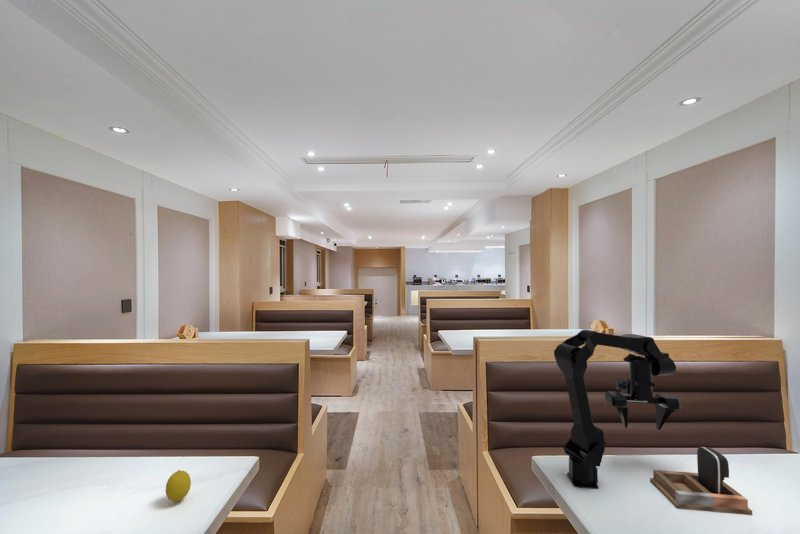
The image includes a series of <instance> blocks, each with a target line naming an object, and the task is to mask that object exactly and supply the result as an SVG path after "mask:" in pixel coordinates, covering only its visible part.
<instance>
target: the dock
mask: <svg viewBox="0 0 800 534" xmlns="http://www.w3.org/2000/svg"><path fill="white" fill-rule="evenodd" d="M652 471H653V473H652V475H653V477H649V481H650V483H651V484H652V485H653V486H654V487H655V488H656V489H657V490H658V491H659V492H660V493H661V494H662V496H664V497H665V498H666V499H667V500H668V501H669V503H671V504H672V506H674V508H676V509H679V510H692V511H700V512H702V511H703V512H713V513H714V512H716V513H727V514H737V515H738V514H740V515H750V516H753V509H751V508H749V504H748V503H749V501H748V500H749V499H748V498H746V497H745V496H743V495H742V494H741V493H740V492H738V491H737V490H735V489H734V488H732V487H731V486H730V485H729V484H727V483H726V482H725V481H723V486H722V489H723V494H712V493H711V492H709V491H708V490H707V489H706V488H705V487H703V486H702V485H701V484H700V483H699V482H698V472H689V471H676V470H675V471H674V470H663V469H662V470H661V469H660V470H659V469H653V470H652Z"/></svg>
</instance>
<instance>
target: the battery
mask: <svg viewBox="0 0 800 534" xmlns="http://www.w3.org/2000/svg"><path fill="white" fill-rule="evenodd" d="M696 452H697V453H696V454H697V455H696V457H697V473H698V482H699V483H700V484H701V485H702V486H703V487H705V488H706V489H707V490H708V491H709V492H711V493H712V494H723V489H722V486H723V482H724V481H725V478H726V479H727V478H730V467H729V461H728V459H727V457H725V456H724V455H723V454H721V453H720V452H719V451H717V450H715V449H713V448H711V447H704V446H700V447H697V450H696Z"/></svg>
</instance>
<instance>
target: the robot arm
mask: <svg viewBox="0 0 800 534" xmlns="http://www.w3.org/2000/svg"><path fill="white" fill-rule="evenodd" d="M597 346H603V347H605V346H606V347H611V348H618V349H621V350H624V351H627V352H629V353H628V354H627V356H624V358H623V362H627V363H629V376H628V377H627V379H626V380H627V381H624V379H623V378H615V379H614V389H616V390H621V392H619V391H611V390H610V391H609V390H608V391H606V392H605V394H604V400H605V401H606V402H608V404H609V405H611V406H613V407H614V408H615V409H616V410H617V413H618V415H619V417H620V419H621V423H622V425H623V427H624V428H625V429H627V428H628V425H629V423H628V422H629V408H628V407H627V404H628V403H635V404H636V403H637V404H652V405H653V404H654V407H655V410H656V411H655V426H656V429H657V430H658V431H661V429H662V427H664V425H665V423H666V421H667V420H668V418H669V417H670V416H671V415H672V414H673V413H676V410H681V401H680V400H679V399H678V398H676V397H675V396H673V395H672V394H669V393H656V394H654V395H653V387H656V382H654V381H653V377H654V376H655V377H659V376H671V375H674V374H675V373H676V370H677V365H676V364H675V361H674V360H673V359H672V358H671V357H670V353H668V352H665V351H664V352H663V351H661V349H659V347H658V345H657V344H656V342H655V339H654V338H653V337H651V336H645V335H641V334H640V335H639V334H634V333H625V334H622V335H618V334H612V333H605V332H599V331H596V330H592V329H582V330H580V331H579V332H578V333H577V334H575V335H573V336H571V337H569V338H567V339H565V340H564V341H562V342H561V343H560V344H558V345H557V346H556V347H555V349H554V351H553V355H554V356H553V357H554V359H555V361H556V365H557V367H558V368H559V369H560V371H561V372H562V374H563V376H564V378H565V385H566V389H567V394H568V398H569V403H570V404H569V405H570V409H571V414H572V418H573V425H572V427H571V430H570V438H569V439H568V441H567V442H566V443H565V445H563V447H562V448H563V452H564V454H566V455H568V472H567V474H566V475H567V477H568V479H569V481H570V482H571V484H572V486H574V488H575V487H576V488H577V487H578V488H588V489H599V485H598V482H599V479H598V477H599V476H598V474H599V471H598V467H600V466H601V463H602V459H603V457H604V452H605V445H607V442H606V441H605V436H604V431H603V429H601V428H599V427H598V426H595V424H594V422H593V417H592V411H591V407H590V403H589V402H590V400H589V397H588V391H587V387H586V382H585V377H584V376H585V373H586V371H587V368H588V360H589V359H590V358H591V357H592V356H593V355H594V353H595V349H596V347H597ZM623 393H624V394H627V395H624V394H623Z"/></svg>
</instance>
